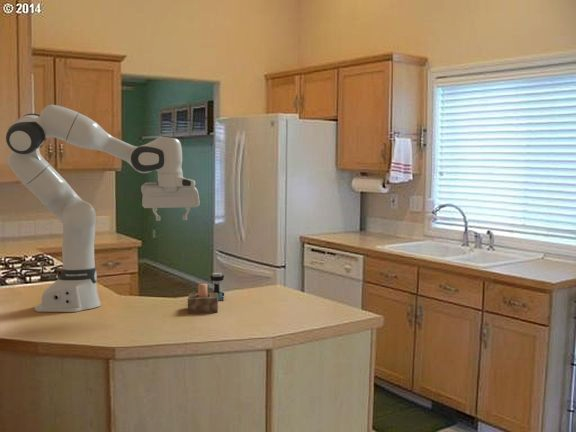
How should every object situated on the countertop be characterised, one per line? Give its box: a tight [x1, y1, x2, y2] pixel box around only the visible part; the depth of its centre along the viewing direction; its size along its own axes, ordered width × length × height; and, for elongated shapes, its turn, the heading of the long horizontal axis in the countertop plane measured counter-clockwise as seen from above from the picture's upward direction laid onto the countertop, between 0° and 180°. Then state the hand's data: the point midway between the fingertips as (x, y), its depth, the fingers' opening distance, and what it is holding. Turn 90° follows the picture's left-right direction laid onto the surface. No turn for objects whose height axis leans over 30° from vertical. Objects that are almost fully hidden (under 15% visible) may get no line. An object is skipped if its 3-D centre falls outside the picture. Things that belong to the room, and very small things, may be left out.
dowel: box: [197, 283, 208, 297], centre depth 219 cm, size 3×3×9 cm
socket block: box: [187, 292, 219, 314], centre depth 219 cm, size 10×10×5 cm
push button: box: [209, 272, 227, 301], centre depth 236 cm, size 7×5×10 cm
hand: (171, 220), depth 224 cm, fingers open, 8 cm apart
